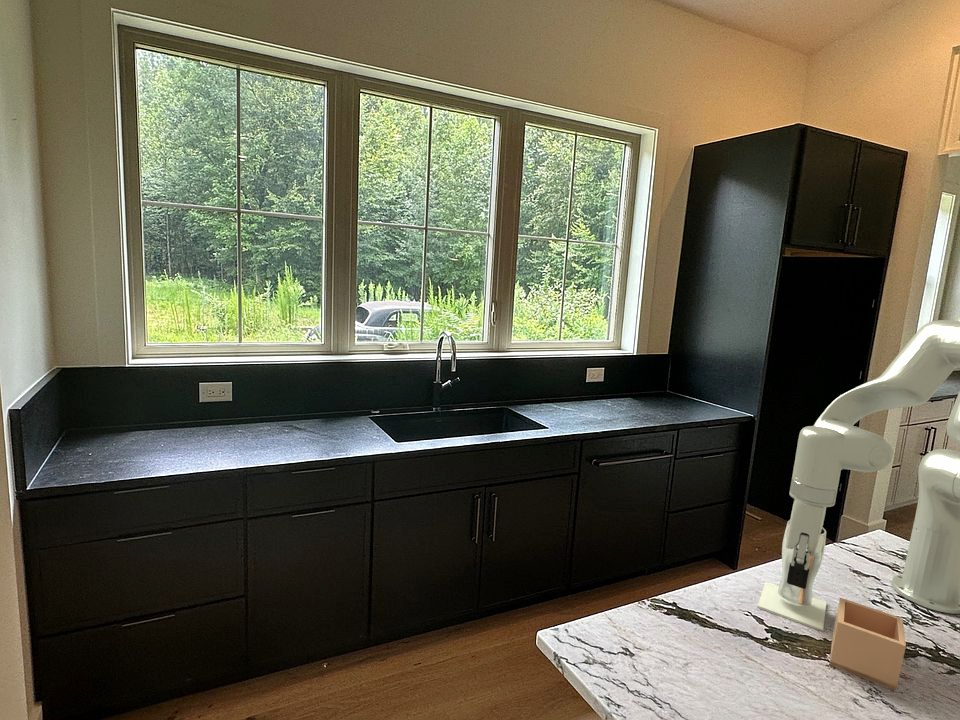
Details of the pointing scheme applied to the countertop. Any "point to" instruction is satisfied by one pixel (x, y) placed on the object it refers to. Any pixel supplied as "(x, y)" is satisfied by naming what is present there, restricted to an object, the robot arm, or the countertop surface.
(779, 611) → the plain cream tile
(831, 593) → the countertop surface
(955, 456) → the robot arm
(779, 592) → the beer glass
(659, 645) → the countertop surface
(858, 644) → the open box
